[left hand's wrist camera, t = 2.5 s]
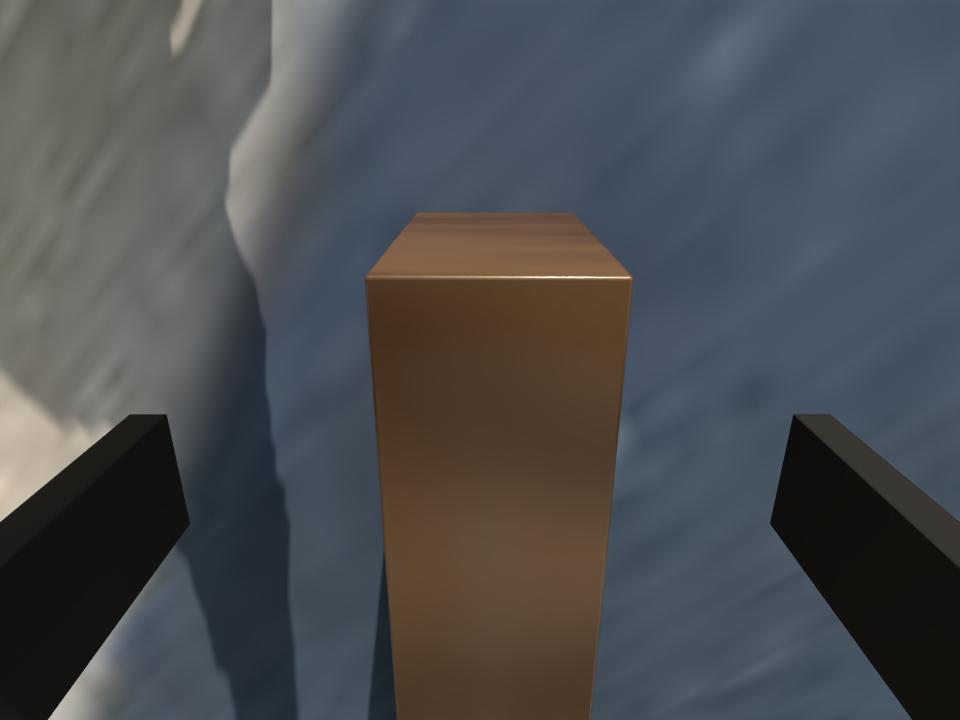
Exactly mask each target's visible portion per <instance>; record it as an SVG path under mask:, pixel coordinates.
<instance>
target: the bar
mask: <svg viewBox="0 0 960 720" xmlns="http://www.w3.org/2000/svg"><path fill="white" fill-rule="evenodd" d="M632 288H633V278H632V276H631V275H630V274H629V273H628V272H627V271H626V269H625V268H624V267H623V266H622V265H621V264H620V263H619V262H618V261H617V260H616V259H615V257H614V256H613V255H612V254H611V253H610V252H609V251H608V250H607V249H606V248H605V247H604V246H603V244H602V243H601V242H600V241H599V240H598V239H597V238H596V237H595V236H594V235H593V234H592V232H591V231H590V230H589V229H588V228H587V227H586V226H585V225H584V224H583V223H582V222H581V221H580V219H579V218H578V217H577V216H576V215H575V214H574V213H416V214H415V215H414V217H413V218H412V219H411V220H410V222H409V223H408V224H407V225H406V227H405V228H404V229H403V230H402V231H401V233H400V234H399V235H398V236H397V238H396V239H395V240H394V241H393V243H392V244H391V245H390V246H389V248H388V249H387V250H386V251H385V253H384V254H383V255H382V256H381V257H380V259H379V260H378V261H377V262H376V264H375V265H374V266H373V267H372V269H371V270H370V271H369V272H368V274H367V275H366V277H365V291H366V305H367V318H368V332H369V346H370V360H371V374H372V387H373V401H374V415H375V429H376V442H377V456H378V470H379V484H380V498H381V511H382V525H383V539H384V553H385V566H386V580H387V594H388V608H389V622H390V635H391V649H392V663H393V677H394V690H395V704H396V718H397V720H591V713H592V702H593V692H594V682H595V671H596V661H597V650H598V640H599V630H600V619H601V609H602V599H603V588H604V578H605V568H606V557H607V547H608V537H609V526H610V516H611V506H612V495H613V485H614V474H615V464H616V454H617V443H618V433H619V423H620V412H621V402H622V392H623V381H624V371H625V361H626V350H627V340H628V330H629V319H630V309H631V298H632Z"/></svg>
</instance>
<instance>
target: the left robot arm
mask: <svg viewBox="0 0 960 720" xmlns="http://www.w3.org/2000/svg"><path fill="white" fill-rule="evenodd" d="M189 524H190V522H189V517H188V512H187V508H186V503H185V498H184V494H183V489H182V484H181V480H180V475H179V470H178V466H177V461H176V456H175V452H174V447H173V442H172V438H171V433H170V428H169V424H168V419H167V414H130V415H129V416H128V417H126V418H125V419H124V420H123V421H121V422H120V423H119V424H118V425H117V426H115V427H114V428H113V429H112V430H111V431H109V432H108V433H107V434H106V435H105V436H103V437H102V438H101V439H100V440H99V441H97V442H96V443H95V444H94V445H93V446H91V447H90V448H89V449H88V450H87V451H85V452H84V453H83V454H82V455H81V456H79V457H78V458H77V459H76V460H74V461H73V462H72V463H71V464H70V465H68V466H67V467H66V468H65V469H64V470H62V471H61V472H60V473H59V474H58V475H56V476H55V477H54V478H53V479H52V480H50V481H49V482H48V483H47V484H46V485H44V486H43V487H42V488H41V489H40V490H38V491H37V492H36V493H35V494H34V495H32V496H31V497H30V498H29V499H27V500H26V501H25V502H24V503H23V504H21V505H20V506H19V507H18V508H17V509H15V510H14V511H13V512H12V513H11V514H9V515H8V516H7V517H6V518H5V519H3V520H2V521H1V522H0V720H48V719H49V717H50V716H51V715H52V713H53V712H54V710H55V709H56V708H57V706H58V705H59V704H60V702H61V701H62V699H63V698H64V697H65V695H66V694H67V693H68V691H69V690H70V688H71V687H72V686H73V684H74V683H75V681H76V680H77V679H78V677H79V676H80V675H81V673H82V672H83V670H84V669H85V668H86V666H87V665H88V664H89V662H90V661H91V659H92V658H93V657H94V655H95V654H96V653H97V651H98V650H99V648H100V647H101V646H102V644H103V643H104V642H105V640H106V639H107V637H108V636H109V635H110V633H111V632H112V630H113V629H114V628H115V626H116V625H117V624H118V622H119V621H120V619H121V618H122V617H123V615H124V614H125V613H126V611H127V610H128V608H129V607H130V606H131V604H132V603H133V602H134V600H135V599H136V597H137V596H138V595H139V593H140V592H141V591H142V589H143V588H144V586H145V585H146V584H147V582H148V581H149V580H150V578H151V577H152V575H153V574H154V573H155V571H156V570H157V568H158V567H159V566H160V564H161V563H162V562H163V560H164V559H165V557H166V556H167V555H168V553H169V552H170V551H171V549H172V548H173V546H174V545H175V544H176V542H177V541H178V540H179V538H180V537H181V535H182V534H183V533H184V531H185V530H186V529H187V527H188V526H189ZM770 524H771V526H772V527H773V529H774V530H775V531H776V533H777V534H778V535H779V537H780V538H781V540H782V541H783V542H784V544H785V545H786V546H787V548H788V549H789V551H790V552H791V553H792V555H793V556H794V557H795V559H796V560H797V562H798V563H799V564H800V566H801V567H802V568H803V570H804V571H805V573H806V574H807V575H808V577H809V578H810V580H811V581H812V582H813V584H814V585H815V586H816V588H817V589H818V591H819V592H820V593H821V595H822V596H823V597H824V599H825V600H826V602H827V603H828V604H829V606H830V607H831V608H832V610H833V611H834V613H835V614H836V615H837V617H838V618H839V619H840V621H841V622H842V624H843V625H844V626H845V628H846V629H847V630H848V632H849V633H850V635H851V636H852V637H853V639H854V640H855V642H856V643H857V644H858V646H859V647H860V648H861V650H862V651H863V653H864V654H865V655H866V657H867V658H868V659H869V661H870V662H871V664H872V665H873V666H874V668H875V669H876V670H877V672H878V673H879V675H880V676H881V677H882V679H883V680H884V681H885V683H886V684H887V686H888V687H889V688H890V690H891V691H892V693H893V694H894V695H895V697H896V698H897V699H898V701H899V702H900V704H901V705H902V706H903V708H904V709H905V710H906V712H907V713H908V715H909V716H910V717H911V719H912V720H960V522H959V521H958V520H957V519H955V518H954V517H953V516H952V515H951V514H949V513H948V512H947V511H946V510H945V509H943V508H942V507H941V506H940V505H939V504H937V503H936V502H935V501H934V500H933V499H931V498H930V497H929V496H928V495H926V494H925V493H924V492H923V491H922V490H920V489H919V488H918V487H917V486H916V485H914V484H913V483H912V482H911V481H910V480H908V479H907V478H906V477H905V476H904V475H902V474H901V473H900V472H899V471H898V470H896V469H895V468H894V467H893V466H892V465H890V464H889V463H888V462H887V461H886V460H884V459H883V458H882V457H881V456H879V455H878V454H877V453H876V452H875V451H873V450H872V449H871V448H870V447H869V446H867V445H866V444H865V443H864V442H863V441H861V440H860V439H859V438H858V437H857V436H855V435H854V434H853V433H852V432H851V431H849V430H848V429H847V428H846V427H845V426H843V425H842V424H841V423H840V422H838V421H837V420H836V419H835V418H834V417H832V416H831V415H830V414H793V419H792V424H791V428H790V433H789V438H788V442H787V447H786V452H785V456H784V461H783V466H782V470H781V475H780V480H779V484H778V489H777V494H776V498H775V503H774V508H773V512H772V517H771V522H770Z"/></svg>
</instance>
